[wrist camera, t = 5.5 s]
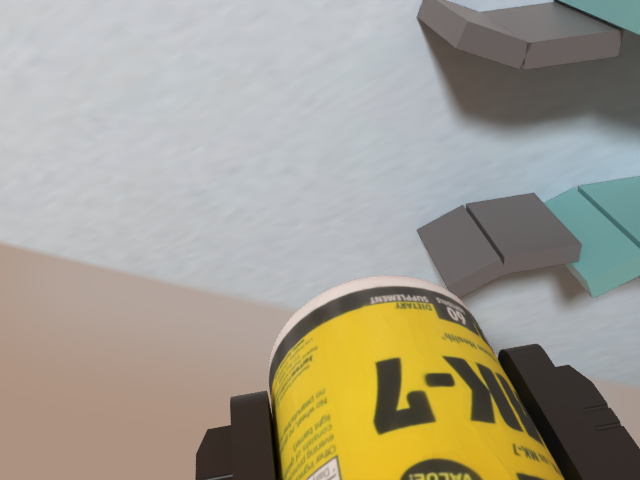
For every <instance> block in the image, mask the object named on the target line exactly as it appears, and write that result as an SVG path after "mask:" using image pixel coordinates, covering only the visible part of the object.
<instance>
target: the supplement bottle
mask: <svg viewBox="0 0 640 480" xmlns="http://www.w3.org/2000/svg"><path fill="white" fill-rule="evenodd" d="M269 387H270V395H271V404H272V416H273V427H274V438H275V449H276V461H277V471H278V480H565V479H564V477H563V476H562V474H561V472H560V470H559V468H558V466H557V465H556V463H555V461H554V459H553V457H552V456H551V454H550V452H549V450H548V449H547V447H546V445H545V443H544V441H543V439H542V437H541V435H540V433H539V432H538V430H537V428H536V426H535V424H534V423H533V421H532V419H531V417H530V415H529V414H528V412H527V410H526V409H525V407H524V405H523V404H522V402H521V400H520V398H519V396H518V395H517V393H516V391H515V389H514V387H513V386H512V384H511V382H510V380H509V379H508V377H507V375H506V374H505V372H504V370H503V368H502V366H501V365H500V363H499V361H498V359H497V358H496V356H495V354H494V352H493V350H492V348H491V346H490V344H489V343H488V341H487V339H486V337H485V335H484V334H483V332H482V330H481V329H480V327H479V325H478V323H477V322H476V320H475V318H474V317H473V315H472V314H471V312H470V311H469V309H468V308H467V307H466V305H465V304H464V303H463V302H462V301H461V300H460V299H459V298H458V297H457V296H455V295H454V294H453V293H451V292H450V291H448V290H446V289H445V288H443V287H441V286H439V285H437V284H434V283H431V282H429V281H425V280H421V279H417V278H412V277H403V276H374V277H366V278H360V279H356V280H352V281H349V282H345V283H343V284H340V285H338V286H335V287H333V288H331V289H329V290H326V291H325V292H323V293H321V294H320V295H318V296H316V297H315V298H313V299H312V300H310V301H309V302H308V303H306V304H305V305H304V306H303V307H301V308H300V309H299V310H298V311H297V312H296V313H295V314H294V315H293V316H292V317H291V319H290V320H289V321H288V322H287V324H286V325H285V326H284V328H283V329H282V331H281V332H280V334H279V336H278V338H277V340H276V342H275V345H274V347H273V350H272V353H271V357H270V362H269Z"/></svg>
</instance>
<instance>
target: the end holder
mask: <svg viewBox="0 0 640 480" xmlns="http://www.w3.org/2000/svg"><path fill="white" fill-rule="evenodd" d="M559 1H561V2H564V3H566V4H568V5H571V6H573V7H575V8H578V9H580V10H582V11H585V12H587V13H589V14H592V15H594V16H596V17H599V18H601V19H603V20H606V21H608V22H611V23H613V24H615V25H618V26H620V27H622V28H625V29H627V30H629V31H632V32H634V33H636V34H639V35H640V0H559ZM544 204H545V205H546V206H547V207H548V208H549V209H550V211H551V212H552V213H553V214H554V215H555V216H556V217H557V218H558V219H559V220H560V221H561V222H562V223H563V224H564V225H565V226H566V228H567V229H568V230H569V231H570V232H571V233H572V234H573V235H574V236H575V237H576V238H577V239H578V240H579V241H580V242H581V244H582V248H581V253H580V258H579V262H573V263H567V264H564V265H565V266H566V267H567V268H568V269H569V271H570V272H571V273H572V274H573V275H574V277H575V278H576V279H577V280H578V281H579V282H580V284H581V285H582V286H583V287H584V288H585V289H586V291H587V292H588V293H589V294H590V295H591V297H592V298H595V297H597V296H599V295H601V294H603V293H605V292H607V291H609V290H611V289H614V288H616V287H618V286H620V285H622V284H624V283H626V282H628V281H630V280H632V279H634V278H636V277H638V276H640V176H638V177H632V178H625V179H619V180H613V181H607V182H600V183H594V184H588V185H581V186H578V191H577V190H576V189H575V188H572V189H570V190H568V191H567V192H565V193H563V194H561V195H559V196H557V197H555V198H553V199H551V200H550V201H548V202H546V203H544Z"/></svg>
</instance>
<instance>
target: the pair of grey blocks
mask: <svg viewBox="0 0 640 480" xmlns="http://www.w3.org/2000/svg"><path fill="white" fill-rule="evenodd" d="M417 17H418V18H419V19H420V20H421V21H423V22H424V23H425V24H426V25H428V26H429V27H430V28H431V29H432V30H434V31H435V32H436V33H437V34H439V35H440V36H441V37H442V38H444V39H445V40H446V41H447V42H448V43H450V44H451V45H452V46H453V47H455V48H456V49H459V50H462V51H465V52H468V53H471V54H474V55H477V56H480V57H483V58H486V59H489V60H493V61H496V62H499V63H502V64H505V65H508V66H511V67H514V68H517V69H520V67H521V68H522V69H524V70H526V69H533V68H540V67H547V66H554V65H561V64H568V63H575V62H582V61H589V60H596V59H603V58H610V57H617V56H619V50H620V45H621V40H622V35H623V29H621V28H619V27H616V26H614V25H612V24H610V23H607V22H605V21H603V20H600V19H598V18H596V17H593V16H591V15H589V14H586V13H584V12H582V11H579V10H577V9H575V8H572V7H570V6H568V5H565V4H563V3H561V2H552V3H545V4H537V5H530V6H522V7H515V8H507V9H500V10H493V11H485V12H477V11H475V10H472V9H469V8H466V7H463V6H461V5H458V4H455V3H452V2H449V1H446V0H423V2H422V5H421V7H420V10H419V12H418V15H417ZM417 232H418V233H419V235H420V237H421V239H422V241H423V243H424V245H425V247H426V248H427V250H428V252H429V254H430V256H431V258H432V260H433V262H434V263H435V265H436V267H437V269H438V271H439V273H440V275H441V276H442V278H443V280H444V282H445V284H446V286H447V288H448V289H449V291H450V292H451V293H453V294H454V295H455V296H457V297H458V298H460V297H461V296H463V295H465V294H467V293H469V292H471V291H473V290H475V289H477V288H479V287H481V286H483V285H485V284H487V283H489V282H491V281H493V280H495V279H496V278H498V277H500V276H502V275H504V274H508V273H514V272H520V271H526V270H532V269H538V268H544V267H550V266H556V265H562V264H567V263H573V262H579V258H580V253H581V248H582V244H581V242H580V241H579V240H578V239H577V238H576V237H575V236H574V235H573V234H572V233H571V232H570V231H569V230H568V229H567V228H566V226H565V225H564V224H563V223H562V222H561V221H560V220H559V219H558V218H557V217H556V216H555V215H554V214H553V213H552V212H551V211H550V209H549V208H548V207H547V206H546V205H545V204H544V203H543V202H542V201H541V200H540V199H539V198H538V197H537V196H536V195H535V193H531V194H525V195H518V196H512V197H506V198H499V199H493V200H487V201H480V202H474V203H468V204H466V209H465V208H464V206H463V205H462V206H460V207H458V208H456V209H454V210H453V211H451V212H449V213H447V214H445V215H443V216H442V217H440V218H438V219H436V220H434V221H432V222H430V223H429V224H427V225H425V226H423V227H421V228H419V229H418V230H417Z"/></svg>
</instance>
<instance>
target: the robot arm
mask: <svg viewBox="0 0 640 480" xmlns="http://www.w3.org/2000/svg"><path fill="white" fill-rule="evenodd" d="M498 361H499V363H500V365H501V366H502V368H503V370H504V372H505V374H506V375H507V377H508V379H509V380H510V382H511V384H512V386H513V387H514V389H515V391H516V393H517V395H518V396H519V398H520V400H521V402H522V404H523V405H524V407H525V409H526V410H527V412H528V414H529V415H530V417H531V419H532V421H533V423H534V424H535V426H536V428H537V430H538V432H539V433H540V435H541V437H542V439H543V441H544V443H545V445H546V447H547V449H548V450H549V452H550V454H551V456H552V457H553V459H554V461H555V463H556V465H557V466H558V468H559V470H560V472H561V474H562V476H563V477H564V479H565V480H640V449H639V447H638V446H637V444H636V443H635V442H634V440H633V439H632V437H631V436H630V435H629V433H628V432H627V430H626V429H625V428H624V426H621V424H620V421H619V419H618V418H617V416H616V415H615V414H614V412H613V411H612V409H611V408H608V405H607V403H606V401H605V400H604V398H603V397H602V395H601V394H600V393H599V391H598V390H597V388H596V387H595V386H594V384H593V383H592V382H591V381H590V380H589V379H587V378H586V377H585V376H583V375H582V374H580V373H579V372H578V371H576V370H575V369H574V368H572V367H571V366H570V365H565V366H559V367H555V366H554V364H553V363H552V361H551V360H550V358H549V357H548V355H547V354H546V352H545V351H544V350H543V348H542V347H541V346H540V345H538V344H531V345H526V346H520V347H514V348H509V349H503V350H501V351H500V352H499V355H498ZM230 411H231V425H229V426H224V427H219V428H213V429H208V430H207V432H206V434H205V436H204V438H203V441H202V443H201V445H200V447H199V449H198V451H197V453H196V480H278V471H277V461H276V449H275V438H274V427H273V418H272V413H271V408H270V404H269V399H268V394H267V391H262V392H257V393H251V394H245V395H240V396H234V397H231V400H230Z"/></svg>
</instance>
